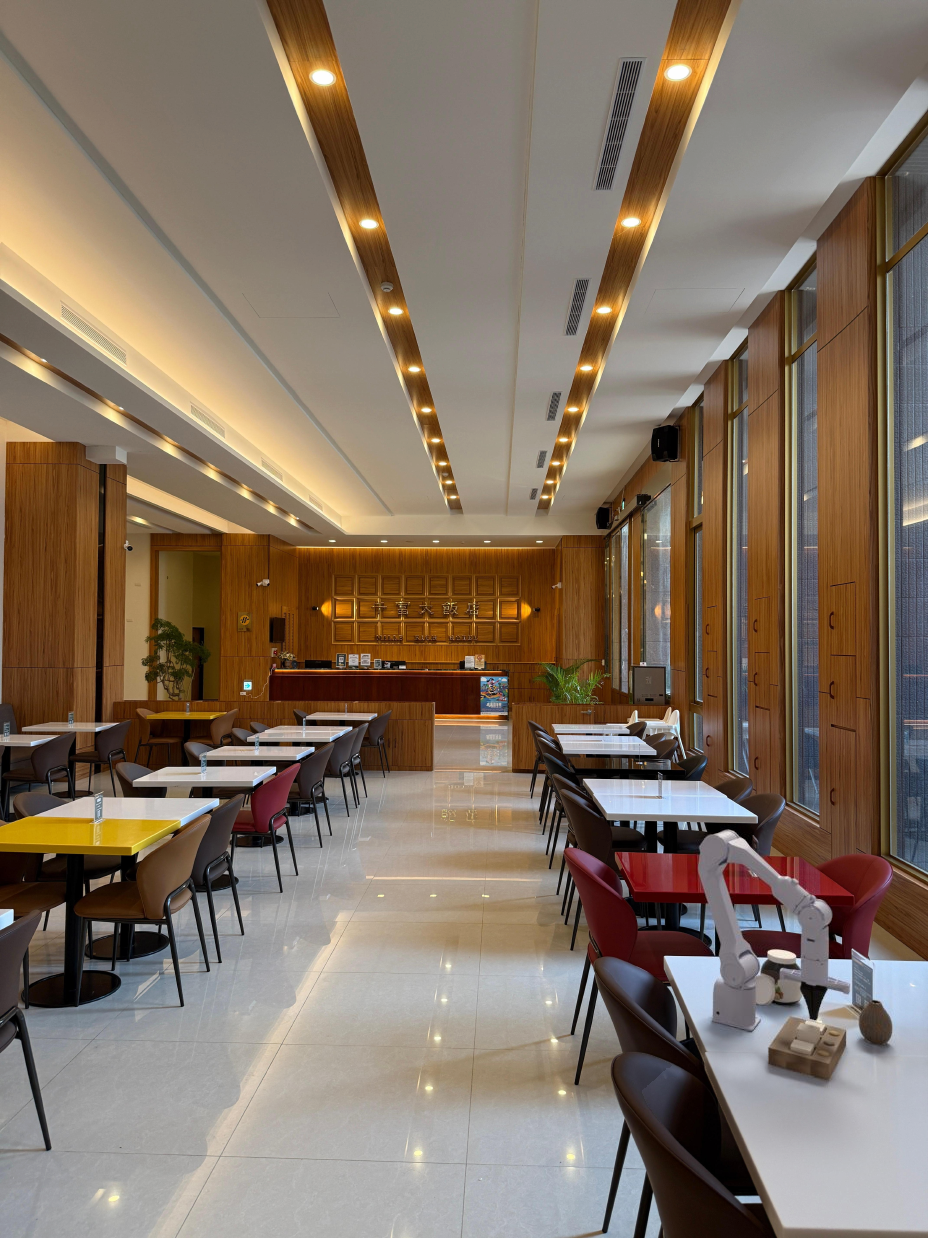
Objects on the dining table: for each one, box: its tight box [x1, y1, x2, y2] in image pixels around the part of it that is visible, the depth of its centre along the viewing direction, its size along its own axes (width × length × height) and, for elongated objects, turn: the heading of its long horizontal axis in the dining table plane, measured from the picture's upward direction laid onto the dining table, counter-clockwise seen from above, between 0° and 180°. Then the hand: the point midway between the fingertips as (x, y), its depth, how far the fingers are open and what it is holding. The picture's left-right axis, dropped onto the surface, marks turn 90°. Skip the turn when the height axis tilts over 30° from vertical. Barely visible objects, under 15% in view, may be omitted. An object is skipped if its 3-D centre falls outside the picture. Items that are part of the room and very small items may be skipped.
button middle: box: [797, 1023, 820, 1045], centre depth 183 cm, size 4×4×4 cm
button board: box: [767, 1016, 847, 1082], centre depth 183 cm, size 12×20×4 cm, turn 146°
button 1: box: [790, 1039, 814, 1056], centre depth 178 cm, size 4×4×4 cm
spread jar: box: [755, 949, 803, 1007], centre depth 212 cm, size 12×11×12 cm
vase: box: [858, 999, 893, 1046], centre depth 191 cm, size 7×7×9 cm
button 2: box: [805, 1020, 826, 1035], centre depth 188 cm, size 4×4×4 cm
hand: (813, 1018), depth 189 cm, fingers closed
